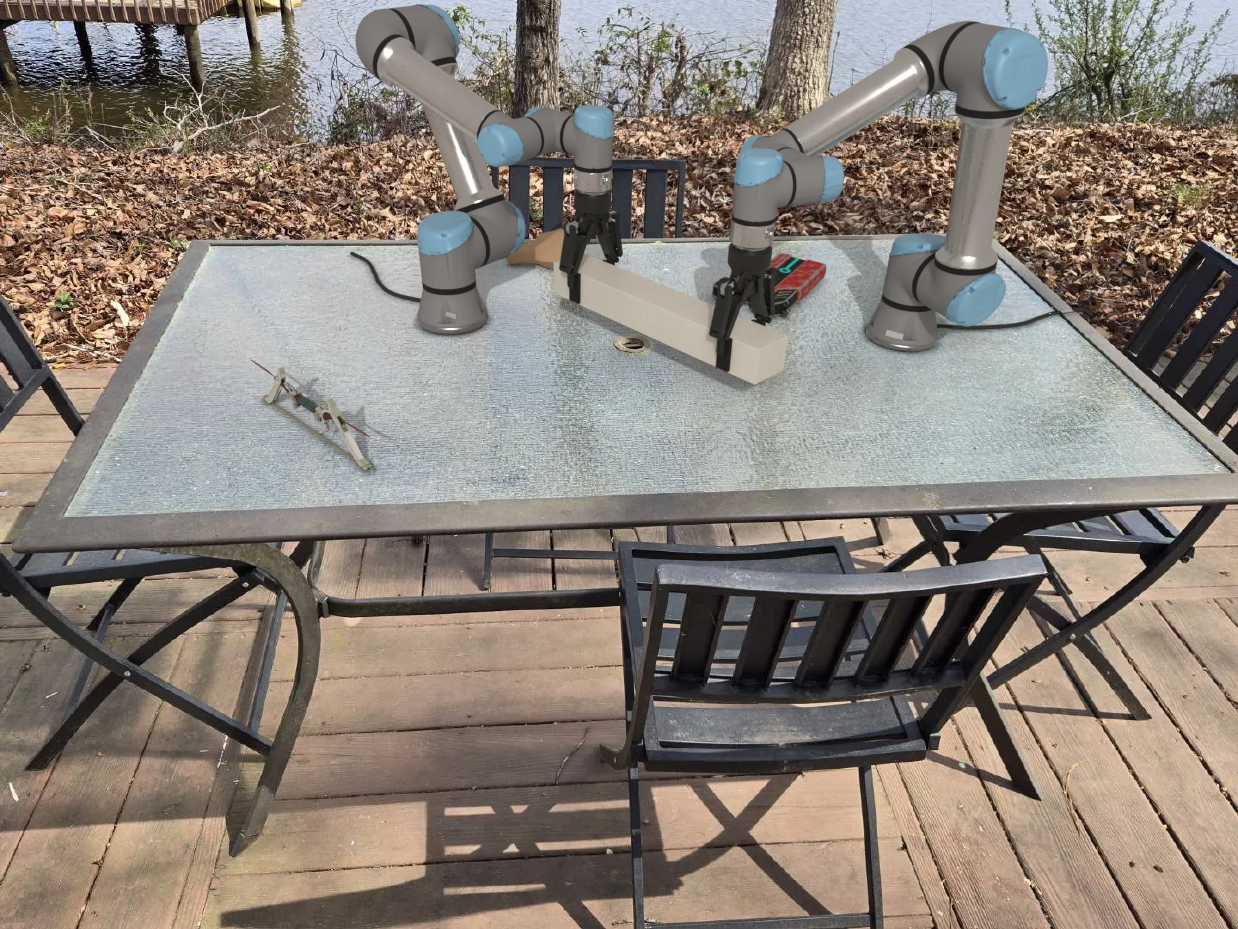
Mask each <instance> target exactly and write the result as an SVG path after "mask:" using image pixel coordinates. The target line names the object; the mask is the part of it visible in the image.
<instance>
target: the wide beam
mask: <svg viewBox="0 0 1238 929" xmlns="http://www.w3.org/2000/svg"><path fill="white" fill-rule="evenodd" d="M602 260H603V259H599V258H597V257H595V256H592V255H589V254H587V253H585V252H584V255H583V258H582V261H581V264H580V267H579V270H578V273H580V274H581V300H580V304H578V305H579V306H581V307H583V308H585V309H588V310H589V311H592V312H594V313H596V314H598V315H601V316H603V317H605V318H607V319H610V320H611V321H613V322H616V323H618V324H620V325H623V326H625V327H627V328H629V329H631V330H634V331H636V332H638V333H640V334H642V335H645V336H647V337H648V338H650V339H653V340H655V341H657V342H660V343H662V344H665V345H667V346H668V347H671V348H673V349H675V350H677V351H680V352H682V353H683V354H687V355H688V356H690V357H692V358H695V359H697V360H699V361H701V362H703V363H706V364H708V365H711V366H712V367H715V368H716V358H717V354H716V347H717V339H716V338H714V337H712V336H710V335H709V331H710V326H711V322H712V317H713V313H714V308H715V305H713V304H711V303H709V302H705V301H704V300H701V299H698V298H697V297H693V296H691V295H688V294H686V293H683V292H681V291H679V290H676V289H673V288H671V287H669V286H667V285H664V284H661V283H659V282H657V281H654V280H652V279H649V278H646V277H644V276H641V275H639V274H636V273H634V272H632V271H629V270H627V269H624V268H621V267H619V266H617V265H615V266H614V265H612V264H609V263H607V262H604V261H602ZM559 265H560V261H557V262H554V269H553V294H555V295H557V296H560V298H561V297H562V298H563V299H566V300H567V301H570V300H569V287H568V286H567V273H565V272H563V271H560V270H559ZM572 267H573V266H572ZM751 320H752V319H748V318H746V317H743V316H741V315H738V317H737V319H736V322H735V325H734V327H733V330H732V332H731V335H730V338H732V339H733V341H732V351H731V362H730V371H729V372H727V373H728V374H730V375H733V376H735V377H737V378H739V379H741V380H743V381H745V382H748V383H750V384H752V385H754V386H755V385H758V384H760V383H762V382H763V381H766V380H768V379H770V378H771V377H773V376H775V375H777V374H779V373H781V372H782V371H784V370H785V363H786V356H787V348H788V342H789V335H788V334H785V333H783V332H780V331H778V330H775V329H773V328H770V327H769V326H763V325H760V324H758V323H756V322H753V321H751Z"/></svg>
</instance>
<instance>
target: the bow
mask: <svg viewBox="0 0 1238 929" xmlns="http://www.w3.org/2000/svg"><path fill="white" fill-rule="evenodd" d="M250 361H251V362H252V363H253V364H255V365H256V366H257V367H259V368H260V369H262V370H263V371H265V372H266V373H268V374H269V375H271V376H272V377H273V385H272V386H271V388H270V389H269V391H268V394H265V395H263V396H261V398H262V400H263V402H265V403H267V404H269V405H270V404H272V405H273V406H275V407H277V409H279V410H281V411H282V412H284V413H285V414H286V415H288V416H289V417H291V418H292V419H294V420H295V421H296V422H298V423H300V424H301V425H302V426H304V427H306V428H307V429H308V430H309V431H312V432H313V433H314V434H316V435H317V436H318V437H320V438H322V439H323V440H324V441H326V442H328V443H329V444H331V445H332V446H333V447H335V448H336V449H338V450H339V451H340V452H342V453H344V454H345V455H347V456H348V457H349V458H351V459H353V460H354V461H355V462H356V463H357V464H358V465H357V466H359V467H360V468H361V469H363V470H365V471H368V469H369V468H370V469H372V468H373V465H371V462H369V461H368V460H367V459H366V458H365V456H364V455H363V453H362V452H361V449H360V447H359V445H358V444H357V442H356V440H355V439H354V436H353V435H352V434H351V432H350V429H349V427H350V428H351V429H354V430H355V431H357V432H359V433H361V434H362V435H363V436H365V437H368V438H371V436H370V435H369V434H368V433H366V432H364V431H363V430H362V429H360V428H358V427H357V426H355V425H353V424H351V423H348V422H347V421H346V420H345V418H344V417H343V415H342V413H341V411H340V409H339V408H338V406H337V403H336V402H335V400H334V398H333V397H330V398H327V399H326V403H327V405H326V404H322V405H320V406H318V404H317V403H316V402H315V401H313V400H311V399H310V398H309V397H307V396H304V395H303V394H302V393H303V392H302V389H301V388H297V389H296V388H295V387H294V386H293V385H292V384H291V383H290V382H288V381H286V380H287V375H286V370H285V367H284V366H282V367H278V368H277V373H276V375H274V374H273V373H272V372H271V371H270V370H269V369H266V368H265V367H264V366H263V365H262V364H260V363H258V362H257V361H255V360H253V359H250ZM282 390H285V392H286V393H287V394H288V397H289V399H290V401H291V409H292V410H293V411H295V410H297V409H300V408H301V407H302V408H304V409H306V410H307V411H309V412H310V413H312V414H313V415H314V418H315V421H317V422H318V423H319V422H320V423H322V427H323V431H325V432H327V431H330V430H333V429H332V425H331V422H330V420H332V421H333V422H334V424H335V425H336V427H337V430H338V431H339V433H340V435H341V437H342V440H343V441H344V443H345V445H346V446H347V448H348V450H349V452H350V454H351V455H350V454H348V453H347V452H345V451H344V450H343V449H341V448H340V447H338V446H337V445H336V444H334V443H332V442H331V441H330V440H328V439H326V438H325V437H324V436H322V435H321V434H319V433H318V432H316V431H315V430H314V429H312V428H311V427H310V426H308V425H306V424H305V423H303V422H302V421H300V420H299V419H297V417H295V416H293V415H292V414H291V413H289V412H287V411H285V410H284V409H282V408H281V407H280V406H278V405H277V404H275V402H276V401H278V399H279V397H280V395H281V393H282ZM348 426H349V427H348Z"/></svg>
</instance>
